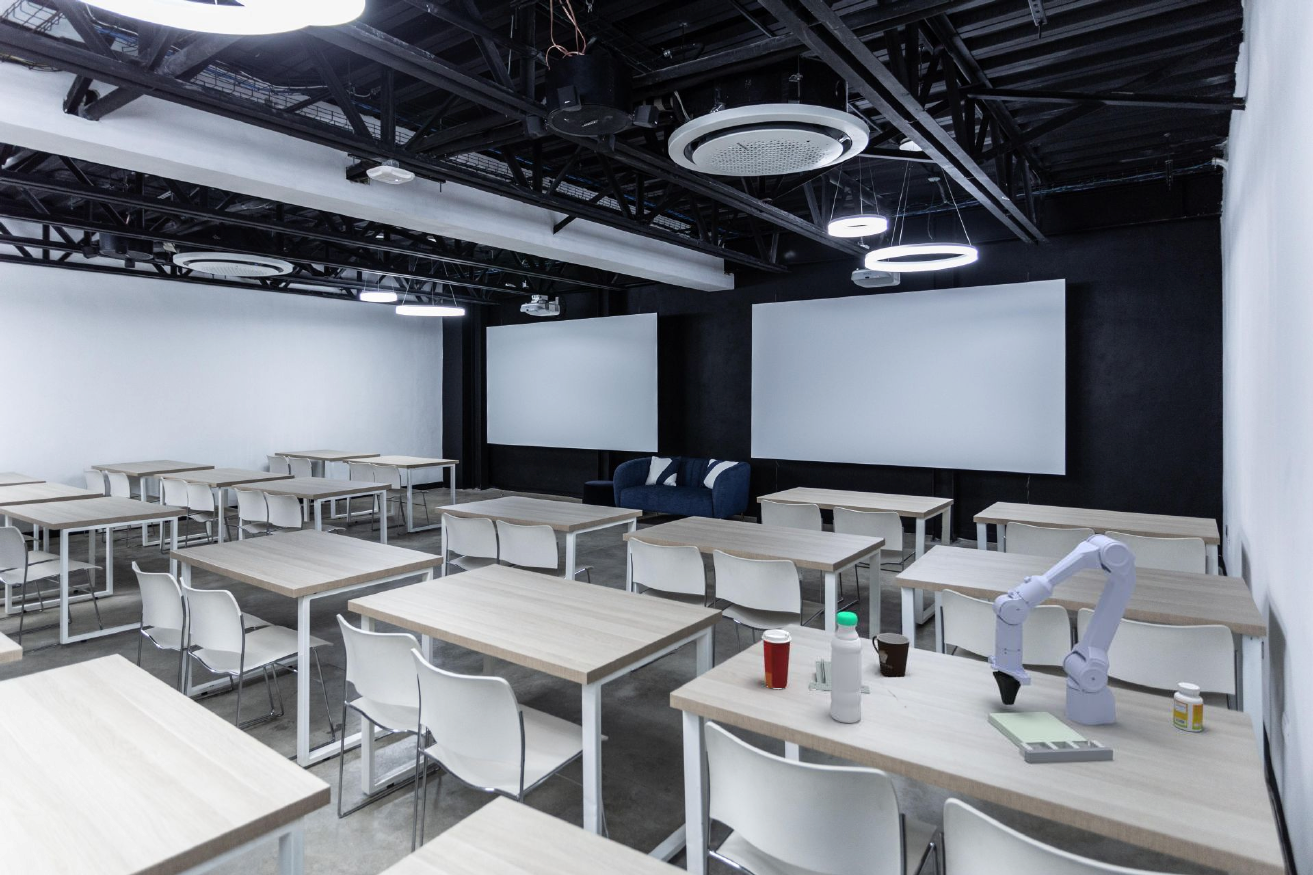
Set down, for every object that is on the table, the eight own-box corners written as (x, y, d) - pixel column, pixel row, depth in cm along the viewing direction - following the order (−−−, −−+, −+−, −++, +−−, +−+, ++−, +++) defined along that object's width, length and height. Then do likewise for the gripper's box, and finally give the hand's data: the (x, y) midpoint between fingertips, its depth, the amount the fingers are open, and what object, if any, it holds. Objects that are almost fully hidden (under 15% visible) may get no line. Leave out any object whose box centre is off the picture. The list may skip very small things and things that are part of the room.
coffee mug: (913, 680, 190) (914, 643, 189) (881, 680, 190) (882, 643, 189) (899, 664, 201) (900, 629, 201) (869, 664, 201) (869, 629, 201)
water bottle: (863, 714, 169) (864, 611, 168) (858, 726, 162) (859, 619, 161) (833, 708, 172) (834, 607, 171) (827, 720, 165) (828, 615, 164)
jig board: (1036, 711, 170) (1036, 697, 170) (1112, 767, 144) (1112, 749, 144) (963, 713, 169) (964, 699, 169) (1027, 770, 143) (1028, 752, 143)
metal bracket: (807, 653, 195) (863, 656, 192) (807, 670, 197) (863, 673, 194) (810, 687, 182) (870, 690, 179) (809, 705, 183) (869, 709, 181)
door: (1046, 719, 163) (1046, 711, 163) (1098, 756, 146) (1098, 748, 145) (988, 720, 162) (988, 713, 162) (1033, 758, 145) (1033, 750, 145)
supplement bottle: (1199, 724, 163) (1201, 683, 163) (1204, 734, 159) (1205, 692, 158) (1171, 719, 166) (1172, 679, 165) (1174, 729, 161) (1176, 687, 161)
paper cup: (795, 683, 187) (795, 631, 187) (784, 693, 181) (784, 639, 180) (768, 677, 192) (768, 626, 191) (756, 686, 185) (756, 634, 184)
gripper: (976, 637, 173) (975, 691, 173) (1009, 658, 158) (1009, 717, 159) (1004, 636, 173) (1003, 690, 174) (1040, 657, 159) (1039, 716, 159)
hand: (1008, 703), depth 166 cm, fingers closed
